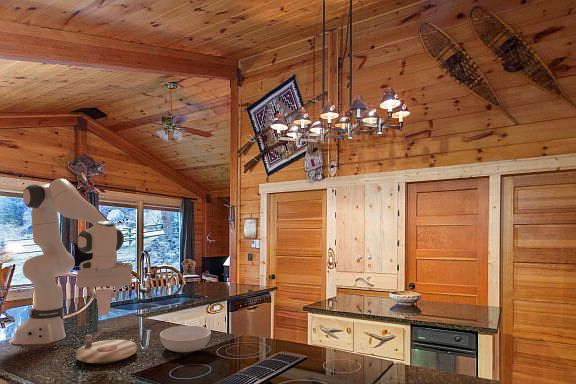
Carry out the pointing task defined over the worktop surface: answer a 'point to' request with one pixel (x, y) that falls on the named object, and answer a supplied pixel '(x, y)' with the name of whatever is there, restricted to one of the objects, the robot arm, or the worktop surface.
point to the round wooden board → (105, 350)
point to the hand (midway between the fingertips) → (104, 297)
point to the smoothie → (103, 300)
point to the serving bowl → (185, 338)
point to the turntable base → (106, 362)
